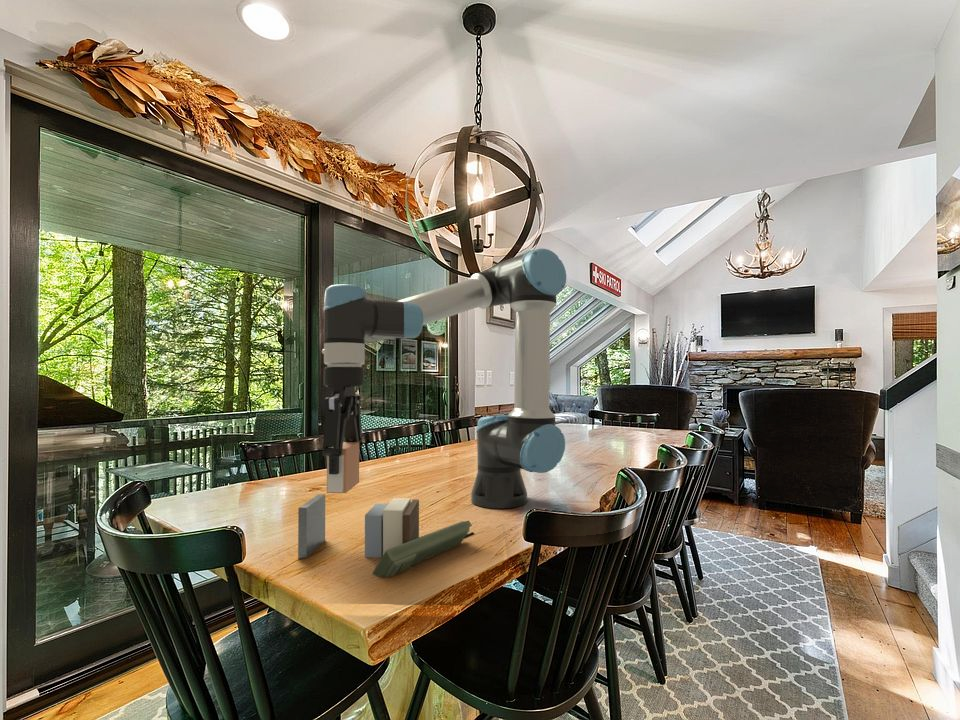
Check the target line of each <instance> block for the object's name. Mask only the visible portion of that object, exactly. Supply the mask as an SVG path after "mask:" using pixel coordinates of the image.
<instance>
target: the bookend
mask: <svg viewBox="0 0 960 720" xmlns="http://www.w3.org/2000/svg"><path fill="white" fill-rule="evenodd" d="M297 514H298V517H297V518H298V523H297V525H298V526H297V527H298V528H297V529H298V530H297V531H298V532H297V538H298V539H297V546H298V547H297V549H298V550H297V554H298V555H297V558H298V559H307V558H308V557H309V556H310V555H312V553H314V552H315V551H316V550H317V549H318V548H319V547H320V546H321V545H322V543H324V542H325V541H326V494H319V493H318V494H316V495H314V496H313V497H312V498H310V499H309V500H308V501H306V502H305V503H304V504H302V505H300V506H299V507H298V513H297Z"/></svg>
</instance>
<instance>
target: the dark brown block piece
mask: <svg viewBox="0 0 960 720" xmlns="http://www.w3.org/2000/svg"><path fill="white" fill-rule="evenodd" d="M419 537H420V499H414V498H413V499H411V503H410V505H409V506H408V508H407V510H406V511H405V513H404V514H403V544H404V543H406V542H409V541H411V540H414V539H417V538H419Z"/></svg>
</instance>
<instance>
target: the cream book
mask: <svg viewBox="0 0 960 720" xmlns="http://www.w3.org/2000/svg"><path fill="white" fill-rule="evenodd" d="M411 502H412V499H411V497H408V498H407V497H404V498H403V497H401V498H398V497H396V498H395V497H393V498H392V499H391V500H390V501H389V503H387V504H388V505H387V506H386V508H385V509H384V510H383V555H384V553H385V551H386V550H388V549H391V548H393V547H396V546H398V545H401V544H403V514H404V513H405V511H406V510H407V508H408V506H409V505H410V503H411ZM383 555H382V556H383Z"/></svg>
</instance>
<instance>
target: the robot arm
mask: <svg viewBox="0 0 960 720" xmlns="http://www.w3.org/2000/svg"><path fill="white" fill-rule="evenodd" d="M565 267H566V266H565V265H564V263H563V261H562V260H561V259H560V258H559V256H558V254H556V253H555V252H554V251H552V250H550V249H548V248H537V249H532V250H531V249H530V250H528V251H526V252H524V253H521V254H519V255H517V256H514V257H511V258H508V259H505V260H504V261H503V260H502V261H501V262H498V263H497V264H495V265H494V266H491V267H489V268H486V269H485V270H482V271H479V272H477V273H473V274H472V275H471V276H470V278H469V279H466V280H462V281H460V282H456V283H453V284H452V283H451V284H449V285H446V286H443V287H438V288H436V289H433V290H432V289H431V290H429V291H426V292H423V293H419V294H416V295H413V296H408V297H404V298H402V299H398V300H396V301H395V300H388V299H387V300H384V299H374V298H368V297H367V295H366V293H365V292H366V291H365V289H364V287H362V286H359V285H355V284H348V283H345V284H343V283H342V284H341V283H340V284H339V283H338V284H332V285H329V286H328V287H327V288H325V292H324V302H323V310H322V311H323V329H324V330H323V337H324V338H323V339H324V340H323V349H322V350H321V353H322V354H323V363H324V365H326V367H324V368H323V386H324V387H326V388H331V389H332V391H331V397H325V398H324V410H325V411H324V424H323V436H322V438H323V440H322V450H321V455H322V457H327V456H328V480H327V479H326V493H327V492H343V491H344V455H341V454H342V448H343V442H359V447H363V446H364V442H363V436H362V435H363V434H362V414H361V413H362V412H361V401H362V400H361V399H362V396H361V394H356V388H357V387H364V385H365V369H364V367H362V366H363V365H365V363H366V362H365V358H366V357H365V356H366V355H365V351H366V350H365V349H366V348H365V346H366V345H365V343H368V344H373V343H375V342H380V341H384V340H385V341H386V340H390V339H403V340H406V339H416V338H418V337H419V336H420V334H421V333H422V330H423V327H424V326H425V325H429V324H432V323H435V322H439V321H441V320H444V319H447V318H450V317H453V316H456V315H458V314H461V313H465V312H468V311H470V310H474V309H476V308H480V309H482V310H483V309H484V310H485V309H488V308H491V307H496V306H500V305H501V306H502V305H509V307H510V308H511V309H512V310H513V311H514V312H515V322H514V323H515V325H514V326H515V329H514V330H515V334H514V338H515V339H514V340H515V341H514V401H513V402H514V405H513V406H514V407H513V409H512V410H511V411H510V412H509V413H508V414H503V415H502V414H500V415H490V416H488V415H487V416H482V417H480V418H479V419H478V420H477V426H476V433H477V435H476V436H477V438H476V440H477V443H476V444H477V445H476V446H477V449H476V451H477V473H476V477H475V480H474V483H473V486H472V489H471V495H470V497H471V499H470V500H471V503H472V504H474V505H476V506H478V507H482V508H488V509H501V510H502V509H512V508H517V507H521V506H524V505H526V504H527V503H528V491H527V488H526V485H525V481H524V479H523V476H522V473H521V470H524V471H525V472H529V473H538V474H545V473H548V472H551V471H553V469H555V468H556V467H557V465H558V464H559V463H560V462H561V461H562V459H563V457H564V454H565V450H566V438H565V435H564V433H563V432H562V430H561V429H560V428H559V427H558V426H556V415H555V413H553V411H551V409H550V361H551V358H550V357H551V351H550V350H551V313H552V310H553V309H554V308H556V306H557V295H559V294H561V292H562V291H563V289H564V288H565V287H566V285H567V271H566V268H565Z"/></svg>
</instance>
